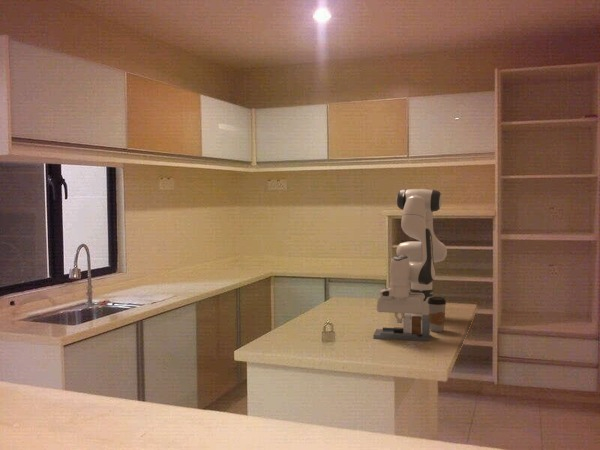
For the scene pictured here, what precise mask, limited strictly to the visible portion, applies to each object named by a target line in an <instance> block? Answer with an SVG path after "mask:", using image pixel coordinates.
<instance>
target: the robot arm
mask: <svg viewBox="0 0 600 450" xmlns="http://www.w3.org/2000/svg"><path fill="white" fill-rule="evenodd" d="M396 204H397V207H398V208H399V210H402V215H401V220H400V223H401V224H400V227H401V229H402V232H403V233H404V234H406V235H407V236H408V237H409V238H412V239H415V240H416V241H404V242H400V243H399V244H398V245H397V247H396V251H395V252H396V255H394V256H392V257H391V258H390V264H389V265H390V266H389V278H390V282H389V287H388V288H383V289H381V290H380V291H379V297H378V299H377V302H376V303H377V304H376V311H377V312H378V313H385V314H386V313H388V314H391V313H392V314H393V313H394V317H395V318H396V323H397V324H403V318H404V316H405V314H411V316H421V317H422V316H423V315H429V310H428V300H429V298H430V297H434V289H433V281H434V280H435V278H436V270H435V263H439V262H443V261H445V260H446V258H447V255H448V250H447V247H446V245H445V244H444V242H441V241H440V240H439V239H438V237H437V236H436V234H435V231H434V213H433V212H438V211H439V210H440V209H441V207H442V205H443V197H442V193H441V192H440V190H436V189H428V188H427V189H426V188H410V189H408V188H402V189H400V190H399V191H398V192H397V195H396ZM399 314H400V315H401V317H400V318H399V316H398V315H399Z"/></svg>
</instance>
